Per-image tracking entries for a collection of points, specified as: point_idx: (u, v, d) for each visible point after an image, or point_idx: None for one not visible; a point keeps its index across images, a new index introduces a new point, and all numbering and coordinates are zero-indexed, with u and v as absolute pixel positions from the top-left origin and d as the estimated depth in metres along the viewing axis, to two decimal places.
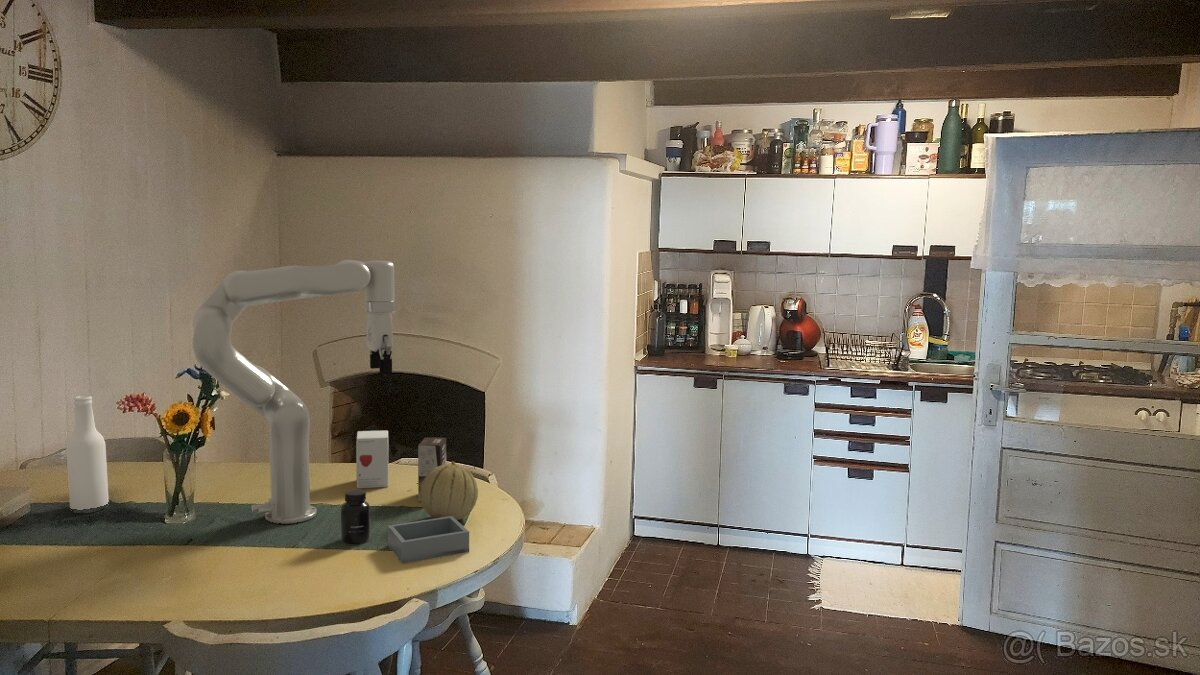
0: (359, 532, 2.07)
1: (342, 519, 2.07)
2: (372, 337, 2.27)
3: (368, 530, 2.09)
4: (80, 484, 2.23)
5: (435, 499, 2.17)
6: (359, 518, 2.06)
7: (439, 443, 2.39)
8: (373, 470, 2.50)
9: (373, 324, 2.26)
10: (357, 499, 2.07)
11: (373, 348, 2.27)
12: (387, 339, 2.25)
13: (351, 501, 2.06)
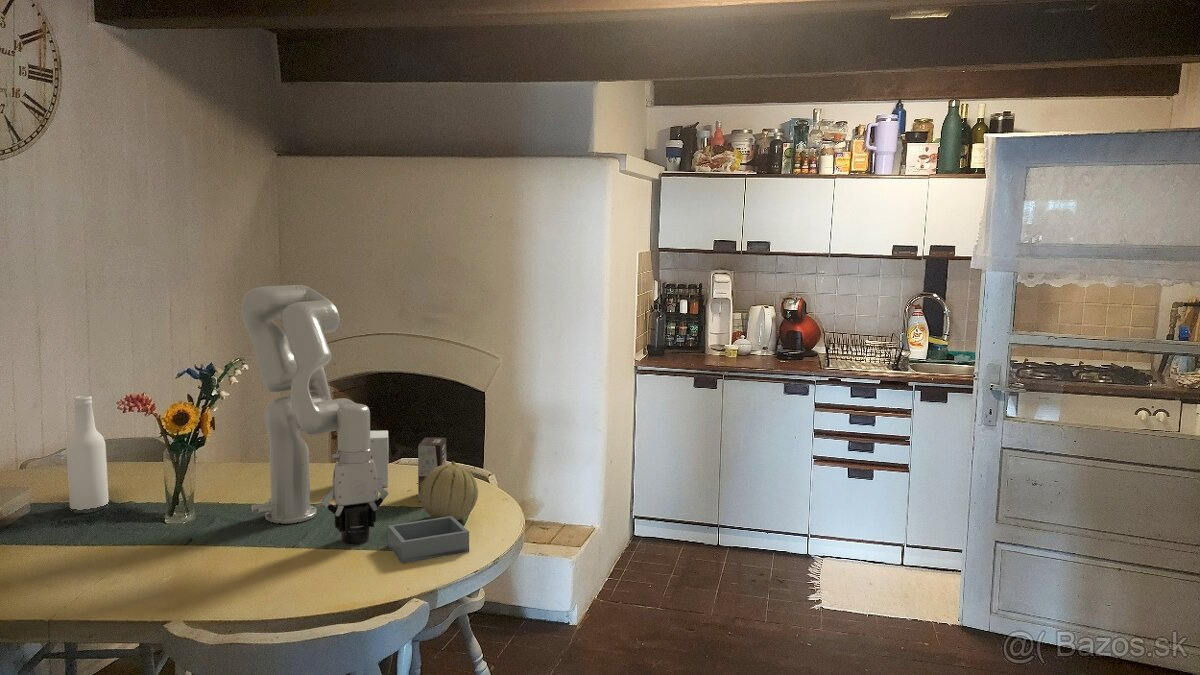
0: (359, 532, 2.07)
1: None
2: (368, 488, 2.07)
3: (368, 530, 2.09)
4: (80, 484, 2.23)
5: (435, 499, 2.17)
6: (359, 518, 2.06)
7: (439, 443, 2.39)
8: None
9: (372, 473, 2.07)
10: None
11: (371, 499, 2.08)
12: (380, 486, 2.11)
13: None
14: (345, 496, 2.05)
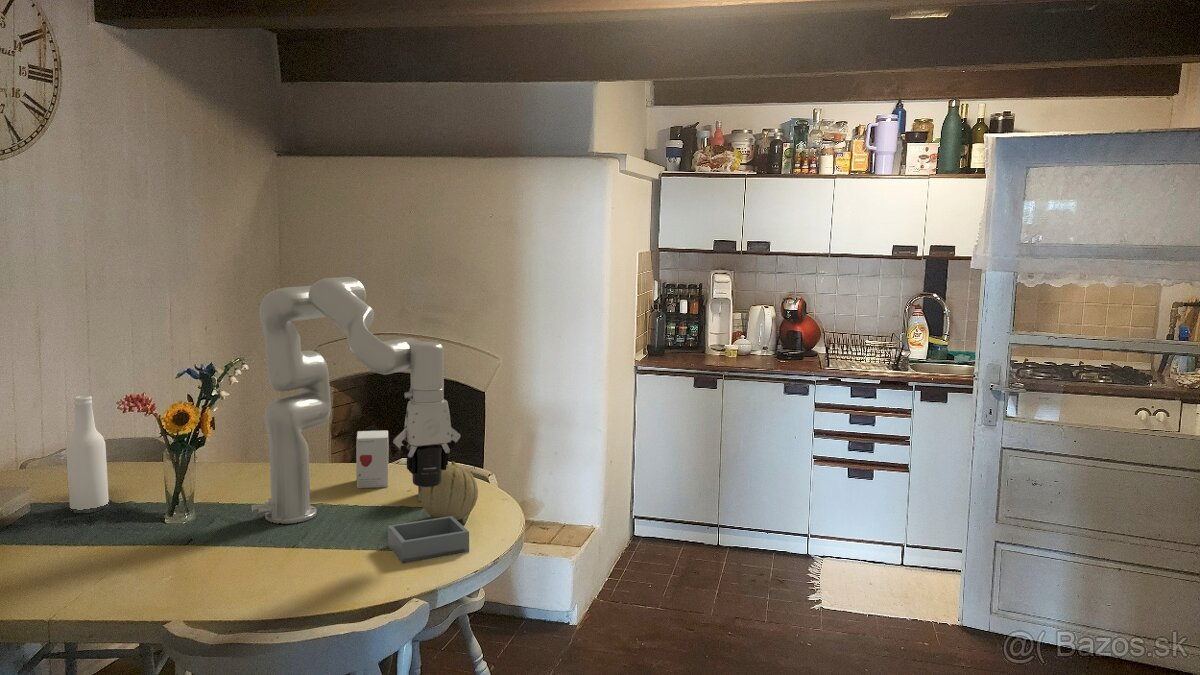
0: (432, 474, 2.00)
1: None
2: (441, 429, 2.00)
3: (441, 473, 2.02)
4: (80, 484, 2.23)
5: (435, 499, 2.17)
6: (432, 460, 2.00)
7: None
8: (373, 470, 2.50)
9: (445, 414, 2.00)
10: None
11: (445, 440, 2.01)
12: (452, 428, 2.05)
13: None
14: (419, 436, 1.98)
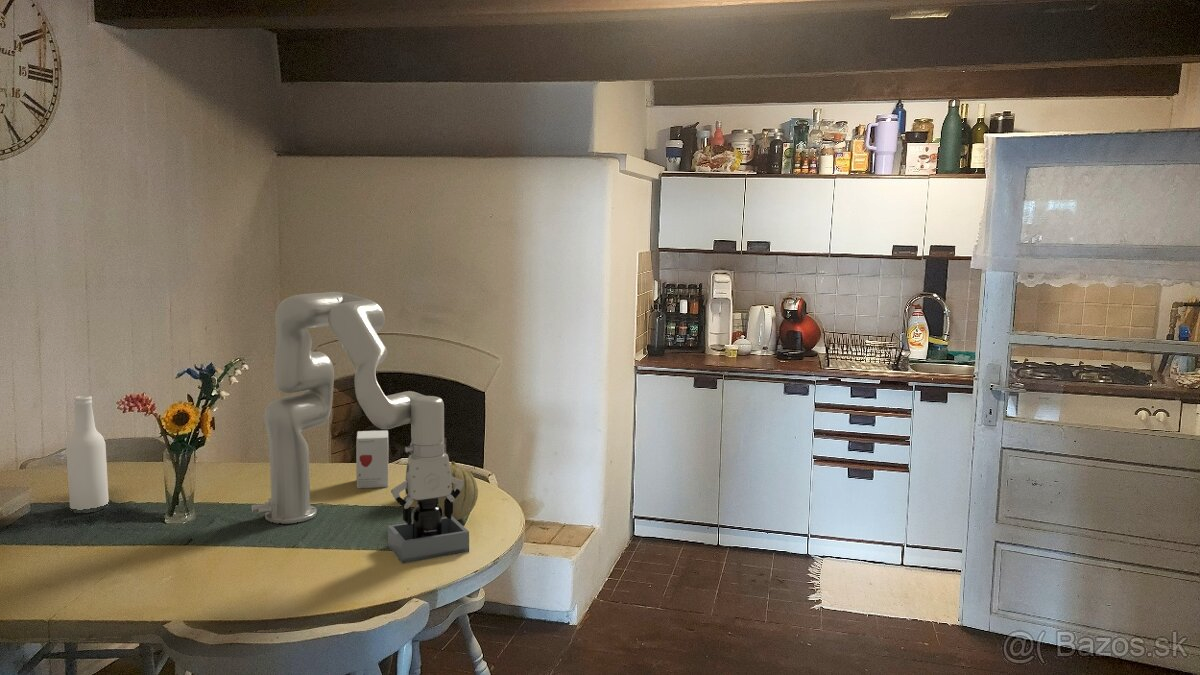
0: None
1: (415, 523, 2.02)
2: (441, 482, 2.02)
3: (440, 534, 2.05)
4: (80, 484, 2.23)
5: None
6: (432, 522, 2.02)
7: None
8: (373, 470, 2.50)
9: (445, 467, 2.02)
10: (430, 503, 2.02)
11: (445, 493, 2.03)
12: None
13: (424, 504, 2.02)
14: (419, 491, 2.00)
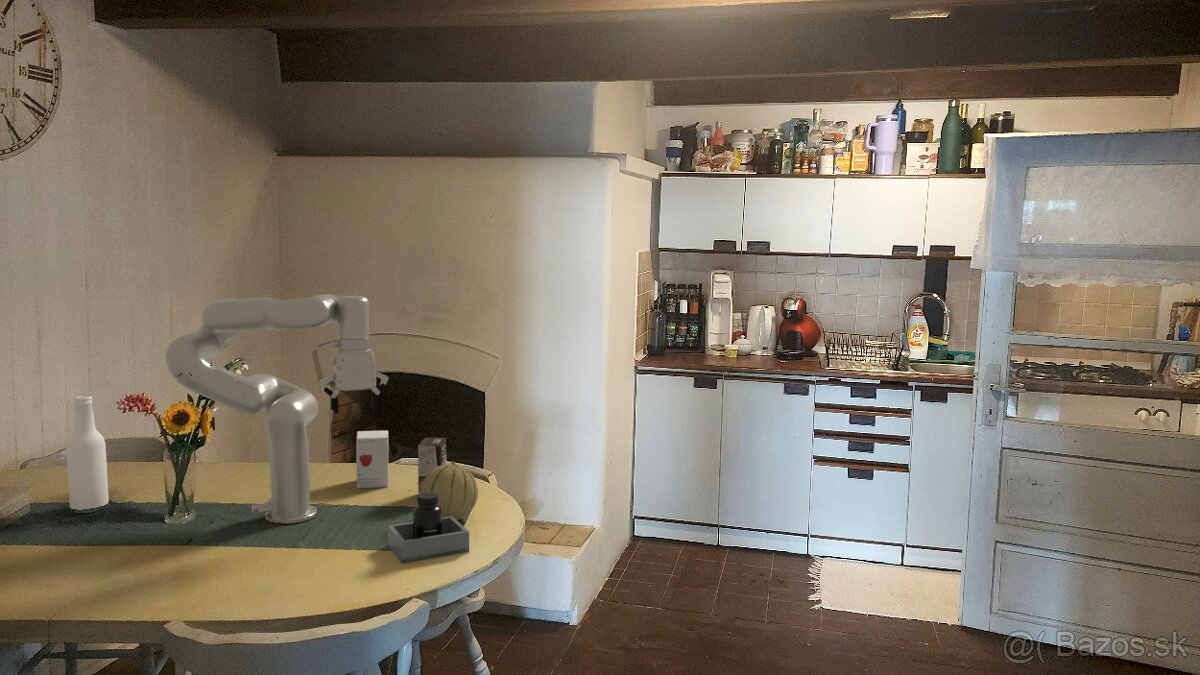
0: None
1: (415, 523, 2.02)
2: (366, 375, 2.20)
3: (440, 534, 2.05)
4: (80, 484, 2.23)
5: None
6: (432, 522, 2.02)
7: (439, 443, 2.39)
8: (373, 470, 2.50)
9: (370, 361, 2.20)
10: (430, 503, 2.02)
11: (370, 386, 2.20)
12: (379, 373, 2.24)
13: (424, 505, 2.02)
14: (345, 381, 2.17)
